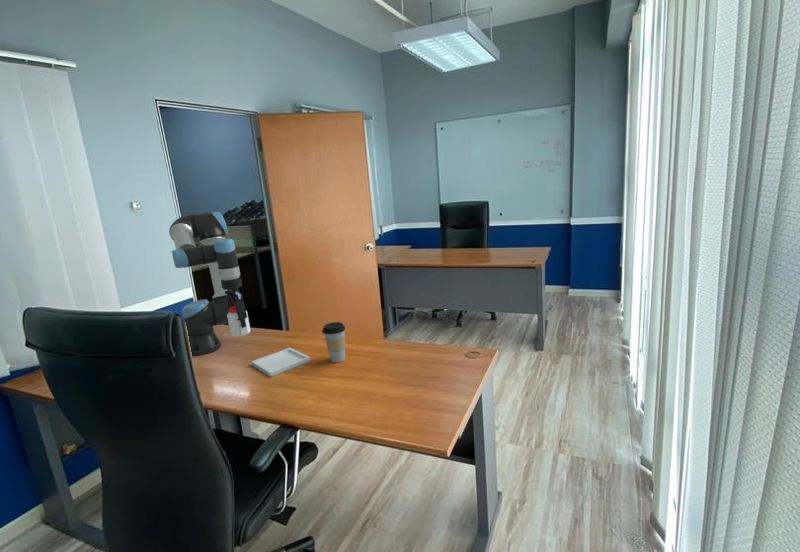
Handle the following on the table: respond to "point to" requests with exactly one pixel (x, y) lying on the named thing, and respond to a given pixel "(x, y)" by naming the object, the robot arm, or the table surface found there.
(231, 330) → the pill bottle
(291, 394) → the table surface
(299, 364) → the tray
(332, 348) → the coffee cup
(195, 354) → the robot arm
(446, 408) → the table surface
